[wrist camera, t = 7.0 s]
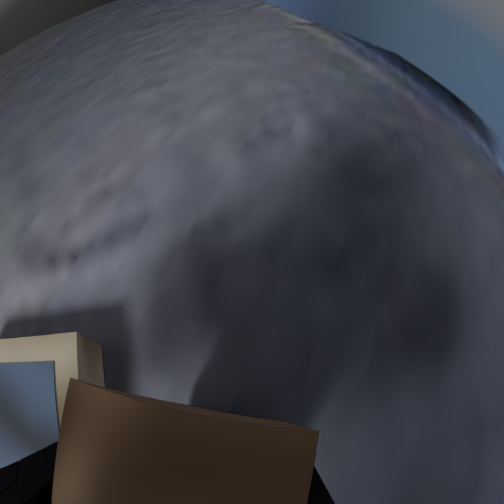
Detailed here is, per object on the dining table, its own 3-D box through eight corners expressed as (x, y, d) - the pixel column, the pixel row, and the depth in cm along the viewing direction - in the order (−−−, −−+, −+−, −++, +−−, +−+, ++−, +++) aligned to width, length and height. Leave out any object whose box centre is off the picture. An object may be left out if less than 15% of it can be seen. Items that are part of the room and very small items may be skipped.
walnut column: (265, 510, 11) (273, 625, 2) (164, 491, 12) (51, 560, 3) (280, 420, 14) (319, 431, 5) (179, 403, 14) (70, 377, 5)
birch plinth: (127, 509, 12) (103, 523, 9) (4, 487, 11) (-26, 490, 8) (101, 345, 16) (75, 331, 14) (-9, 353, 16) (-38, 341, 13)
